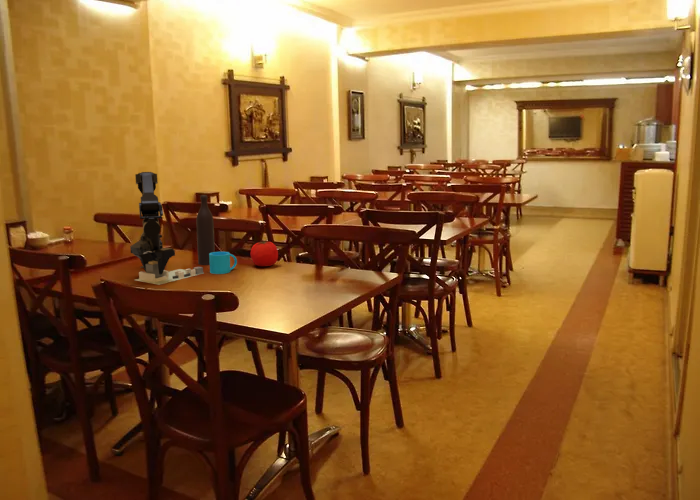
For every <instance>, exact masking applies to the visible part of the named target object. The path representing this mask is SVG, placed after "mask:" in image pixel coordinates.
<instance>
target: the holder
mask: <svg viewBox="0 0 700 500" xmlns="http://www.w3.org/2000/svg"><path fill="white" fill-rule="evenodd" d="M168 272H169V270H165V269H164V271H163V273H162V277H159V278H155V274H152V273H146V272H145V271H139V272H138V276H139V277H138V279H139V280H144V281H149V282H158V281H162V280H166V279H169V273H168Z"/></svg>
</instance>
